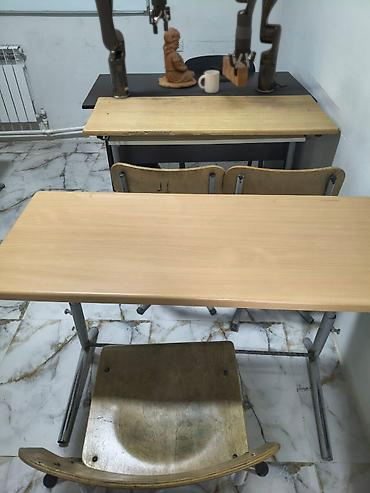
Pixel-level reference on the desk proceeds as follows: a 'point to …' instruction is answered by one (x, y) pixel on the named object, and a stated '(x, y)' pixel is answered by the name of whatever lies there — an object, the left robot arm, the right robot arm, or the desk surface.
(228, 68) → the bar
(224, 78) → the abstract sculpture
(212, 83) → the mug
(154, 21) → the left robot arm
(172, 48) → the sculpture
